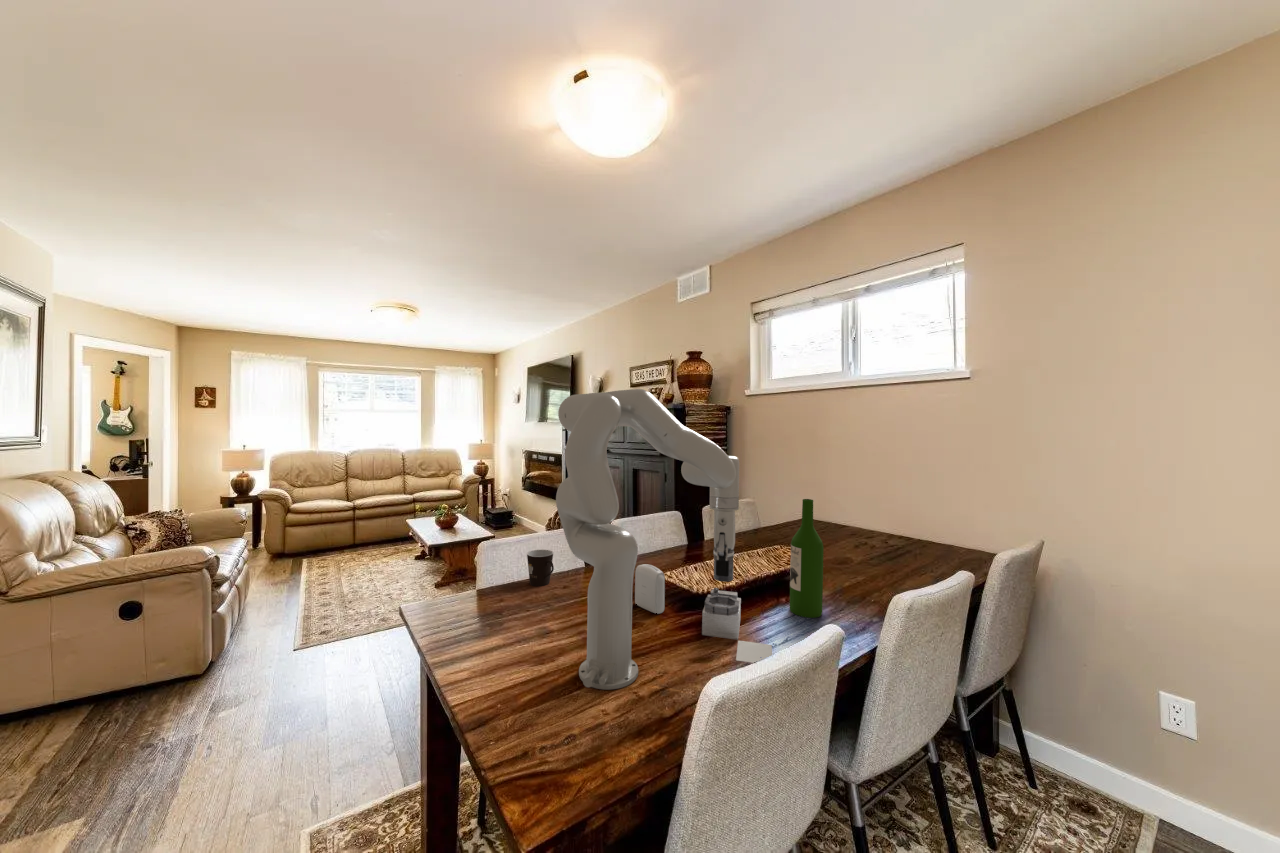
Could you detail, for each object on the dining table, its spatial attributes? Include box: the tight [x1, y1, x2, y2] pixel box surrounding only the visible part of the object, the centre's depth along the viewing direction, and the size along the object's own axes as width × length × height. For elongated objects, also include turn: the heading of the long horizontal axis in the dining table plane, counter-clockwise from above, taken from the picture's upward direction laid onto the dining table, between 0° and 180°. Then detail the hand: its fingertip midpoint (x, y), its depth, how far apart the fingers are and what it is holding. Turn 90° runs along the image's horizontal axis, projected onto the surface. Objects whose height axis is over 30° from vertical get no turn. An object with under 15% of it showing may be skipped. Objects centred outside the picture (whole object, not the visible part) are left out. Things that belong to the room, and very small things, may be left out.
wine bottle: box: [789, 498, 825, 619], centre depth 134 cm, size 9×9×32 cm
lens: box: [713, 546, 735, 583], centre depth 120 cm, size 5×5×8 cm
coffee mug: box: [526, 549, 554, 587], centre depth 152 cm, size 12×9×10 cm
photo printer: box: [634, 563, 666, 615], centre depth 134 cm, size 10×4×12 cm, turn 39°
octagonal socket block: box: [701, 587, 742, 641], centre depth 122 cm, size 13×9×8 cm
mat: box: [735, 639, 773, 664], centre depth 108 cm, size 10×8×1 cm
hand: (723, 571), depth 121 cm, fingers closed on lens, 5 cm apart
